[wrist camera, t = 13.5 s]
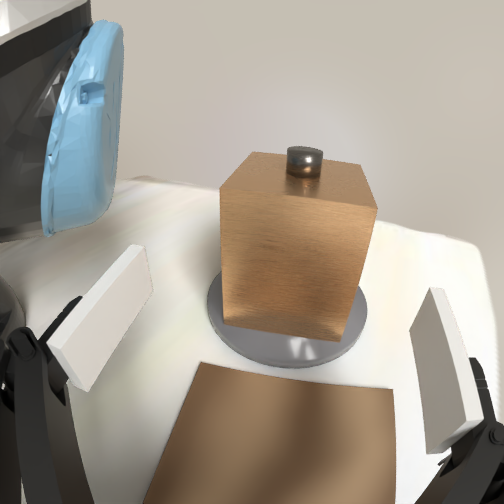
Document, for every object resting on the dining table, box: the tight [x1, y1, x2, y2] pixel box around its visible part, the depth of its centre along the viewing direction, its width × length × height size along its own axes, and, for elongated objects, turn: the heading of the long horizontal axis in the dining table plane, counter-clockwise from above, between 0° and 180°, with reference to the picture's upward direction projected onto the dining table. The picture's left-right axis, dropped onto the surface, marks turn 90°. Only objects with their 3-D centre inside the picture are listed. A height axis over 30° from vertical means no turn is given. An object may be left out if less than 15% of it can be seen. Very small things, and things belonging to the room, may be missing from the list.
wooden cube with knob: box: [220, 146, 378, 343], centre depth 23 cm, size 9×9×13 cm
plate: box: [208, 271, 367, 368], centre depth 27 cm, size 14×14×1 cm
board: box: [142, 362, 396, 504], centre depth 14 cm, size 14×14×1 cm
